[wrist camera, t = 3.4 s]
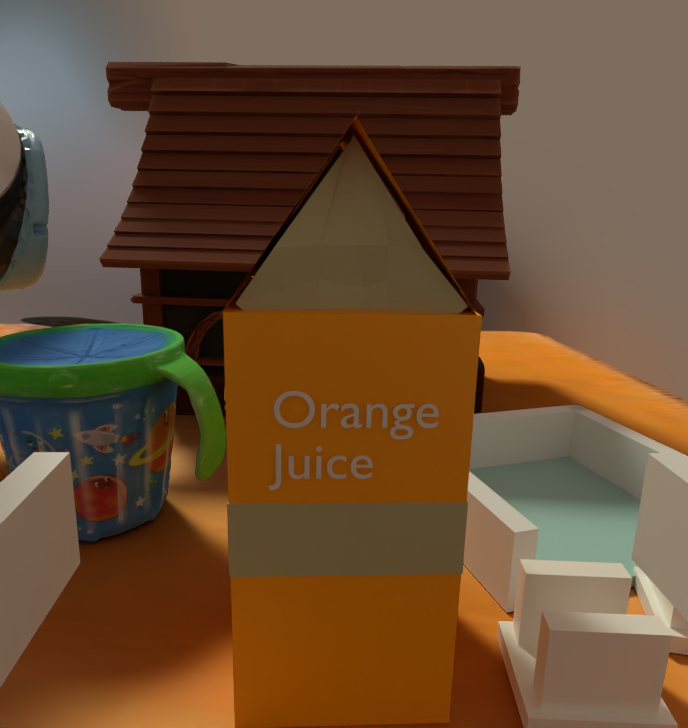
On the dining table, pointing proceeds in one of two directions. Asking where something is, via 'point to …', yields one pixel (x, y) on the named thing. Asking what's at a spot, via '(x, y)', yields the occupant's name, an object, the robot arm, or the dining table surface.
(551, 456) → the tray
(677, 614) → the white upright piece
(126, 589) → the dining table surface
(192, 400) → the snack cup
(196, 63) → the house
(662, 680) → the clip
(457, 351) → the orange juice
